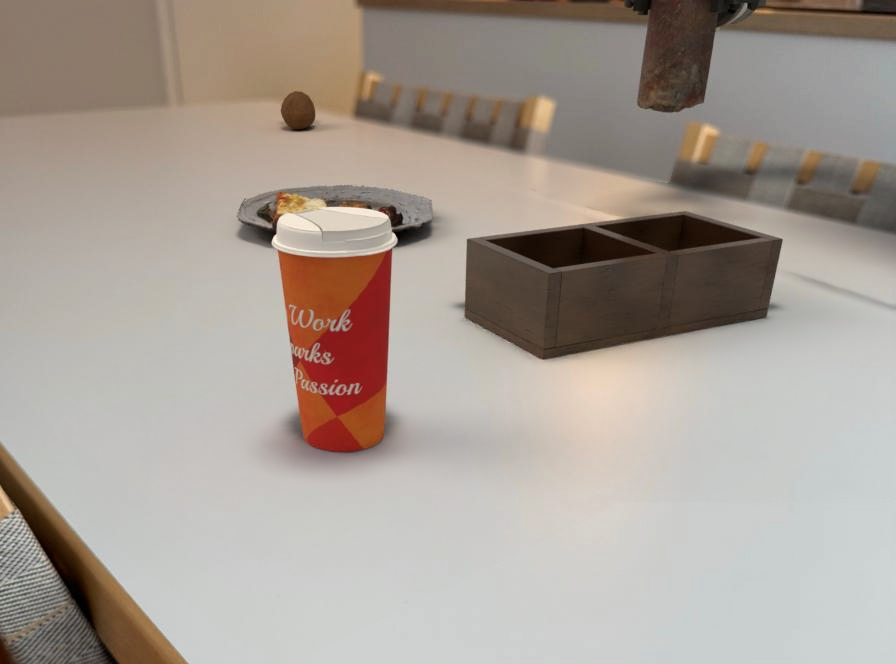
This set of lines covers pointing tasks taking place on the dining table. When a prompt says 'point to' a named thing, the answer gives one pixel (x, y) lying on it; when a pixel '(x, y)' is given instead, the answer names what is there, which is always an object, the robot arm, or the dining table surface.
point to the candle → (676, 55)
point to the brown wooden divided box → (618, 281)
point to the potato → (298, 110)
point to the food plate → (336, 205)
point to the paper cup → (338, 321)
